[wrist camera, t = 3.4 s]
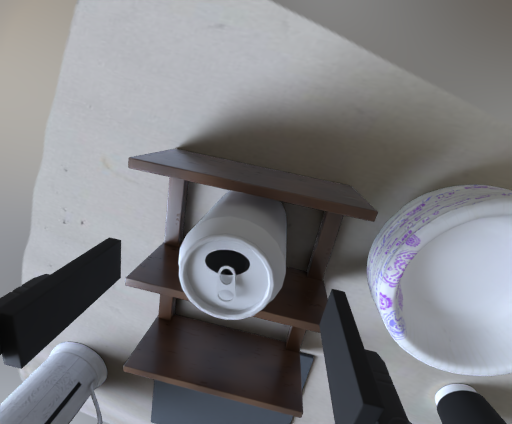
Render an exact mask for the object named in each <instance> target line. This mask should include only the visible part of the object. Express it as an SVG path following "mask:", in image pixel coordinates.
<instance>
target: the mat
mask: <svg viewBox="0 0 512 424" xmlns="http://www.w3.org/2000/svg"><path fill="white" fill-rule="evenodd" d="M313 359H314V358H313V356H311V355H307V354H303V353H300V362H301V381H302V390H303V387H304V384H305V381H306V378H307V376H308V373H309V370H310V367H311V364H312V362H313ZM292 418H293V416H291V415H287V414H284V413H280V412H276V411H272V410H268V409H265V408H261V407H257V406H253V405H249V404H246V403H242V402H238V401H234V400H230V399H227V398H223V397H219V396H215V395H211V394H208V393H204V392H200V391H196V390H192V389H189V388H185V387H181V386H177V385H173V384H170V383H166V382H162V381H158V380H154V390H153V402H152V415H151V422H152V423H156V424H290V423H291V420H292Z"/></svg>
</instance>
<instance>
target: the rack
mask: <svg viewBox="0 0 512 424" xmlns="http://www.w3.org/2000/svg"><path fill="white" fill-rule="evenodd" d="M128 167H129V168H131V169H136V170H140V171H145V172H150V173H154V174H159V175H163V176H168V177H170V178H169V190H168V203H167V215H166V228H165V241H164V243H163V244H162V245H160V246H159V247H158V248H157V249H156V250H155V251H154V252H153V253H152V254H151V255H150V256H149V257H147V258H146V259H145V260H144V261H143V262H142V263H141V264H140V265H139V266H138V267H137V268H136V269H135V270H133V271H132V272H131V273H130V274H129V275H128V276H127V277H126V278H125V285H126V286H130V287H134V288H138V289H142V290H147V291H151V292H155V293H159V294H160V303H159V315H158V317H157V318H156V319H155V321H154V322H153V324H152V325H151V327H150V328H149V330H148V331H147V332H146V334H145V335H144V337H143V338H142V340H141V341H140V343H139V344H138V345H137V347H136V348H135V350H134V351H133V353H132V354H131V356H130V357H129V358H128V360H127V361H126V363H125V364H124V366H123V371H124V372H128V373H132V374H135V375H139V376H143V377H147V378H151V379H154V380H158V381H162V382H166V383H170V384H173V385H177V386H181V387H185V388H189V389H192V390H196V391H200V392H204V393H208V394H211V395H215V396H219V397H223V398H227V399H230V400H234V401H238V402H242V403H246V404H249V405H253V406H257V407H261V408H265V409H268V410H272V411H276V412H280V413H284V414H287V415H291V416H295V417H299V418H301V417H302V414H303V401H302V381H301V362H300V347H301V344H302V341H303V338H304V335H305V332H306V330H310V331H314V332H318V333H320V326H319V324H320V321H321V319H322V316H323V313H324V310H325V307H326V304H327V301H328V298H327V293H326V289H325V284H324V280H323V277H324V274H325V270H326V267H327V264H328V261H329V258H330V255H331V252H332V249H333V246H334V243H335V240H336V237H337V234H338V231H339V228H340V225H341V222H342V219H343V215H345V216H350V217H354V218H359V219H364V220H368V221H373V222H374V221H375V219H376V216H377V214H378V211H377V210H376V209H375V208H374V207H373V206H371V205H370V204H369V203H368V202H367V201H366V200H365V199H364V198H363V197H362V196H361V195H360V194H359V193H358V192H357V191H356V190H355V189H354V188H353V187H352V186H349V185H344V184H339V183H335V182H329V181H325V180H320V179H315V178H311V177H306V176H301V175H297V174H292V173H287V172H283V171H278V170H273V169H269V168H264V167H259V166H254V165H250V164H245V163H240V162H236V161H231V160H226V159H222V158H217V157H212V156H208V155H203V154H198V153H194V152H189V151H184V150H180V149H170V150H165V151H160V152H155V153H150V154H144V155H139V156H134V157H129V161H128ZM188 181H191V182H195V183H200V184H204V185H209V186H213V187H218V188H222V189H227V190H232V191H236V192H241V193H245V194H250V195H254V196H259V197H263V198H268V199H273V200H277V201H282V202H286V203H291V204H295V205H300V206H304V207H309V208H313V209H318V210H323V211H325V212H324V216H323V219H322V222H321V226H320V229H319V232H318V236H317V239H316V242H315V246H314V249H313V252H312V256H311V259H310V262H309V266H308V269H307V272H306V271H301V270H297V269H293V268H288V267H286V274H285V278H284V281H283V285H282V288H281V289H280V291H279V292H278V294H277V295H276V296H275V298H274V299H273V300H272V301H270V302H269V303H268V304H267V305H266V307H265V308H264V309H262V310H261V311H259V312H258V313H257V314H255V315H254V316H253V317H257V318H261V319H265V320H269V321H273V322H277V323H281V324H286V325H290V329H289V332H288V336H287V339H286V342H283V341H279V340H275V339H271V338H267V337H263V336H259V335H255V334H251V333H247V332H243V331H239V330H235V329H231V328H227V327H223V326H219V325H215V324H211V323H207V322H203V321H199V320H195V319H191V318H187V317H183V316H179V315H175V314H174V313H175V304H176V298H179V299H183V300H187V301H190V300H189V299H188V297H187V296H186V294H185V292H184V291H183V289H182V286H181V282H180V279H179V264H178V262H179V251H180V247H181V245H182V237H183V228H184V218H185V209H186V199H187V190H188Z"/></svg>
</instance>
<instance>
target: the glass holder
mask: <svg viewBox="0 0 512 424" xmlns="http://www.w3.org/2000/svg"><path fill="white" fill-rule="evenodd" d="M106 377H107V368H106V365H105V363H104V361H103V360H102V358H101V357H100V356H99V355H98V354H97V353H96V352H95V351H93V350H92V349H90V348H89V347H87V346H85V345H82V344H79V343H75V342H63V343H60V344H58V345H57V346H56V347H55V348H54V349H53V350H52V352H51V354H50V356H49V358H48V359H47V360H46V361H45V362H44V363H43V364H42V365H41V366H39V367H38V368H37V369H36V370H35V371H34V372H33V373H32V374H31V375H30V376H29V377H28V378H27V379H26V380H25V381H24V382H23V383H22V384H21V385H20V386H19V387H18V388H17V389H16V390H15V391H14V392H13V393H12V394H10V395H9V396H8V397H7V398H6V399H5V400H4V401H3V402H2V403H1V404H0V424H69V423H70V422H71V421H72V419H73V418H74V417H75V415H76V414H77V413H78V411H79V410H80V408H81V407H82V406H83V404H84V403H85V402H86V400H87V399H88V398H89V396H90V395H91V397H92V400H93V403H94V405H95V408H96V412H97V418H98V424H102V416H101V412H100V409H99V405H98V402H97V399H96V396H95V393H94V390H95V389H96V388H97V387H99V386H100V385H101V384H102V383H103V382H104V381H105V380H106Z"/></svg>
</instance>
